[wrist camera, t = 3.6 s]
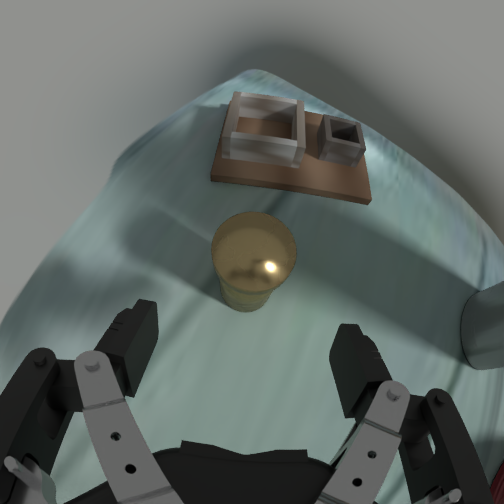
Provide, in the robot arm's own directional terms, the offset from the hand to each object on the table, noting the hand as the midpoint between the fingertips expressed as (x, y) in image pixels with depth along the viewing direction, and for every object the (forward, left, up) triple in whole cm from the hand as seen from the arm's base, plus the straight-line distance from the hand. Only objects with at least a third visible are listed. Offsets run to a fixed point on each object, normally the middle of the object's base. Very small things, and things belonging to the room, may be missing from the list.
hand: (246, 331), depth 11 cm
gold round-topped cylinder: (0, -5, -10) cm, 11 cm away
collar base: (-4, -21, -10) cm, 23 cm away
